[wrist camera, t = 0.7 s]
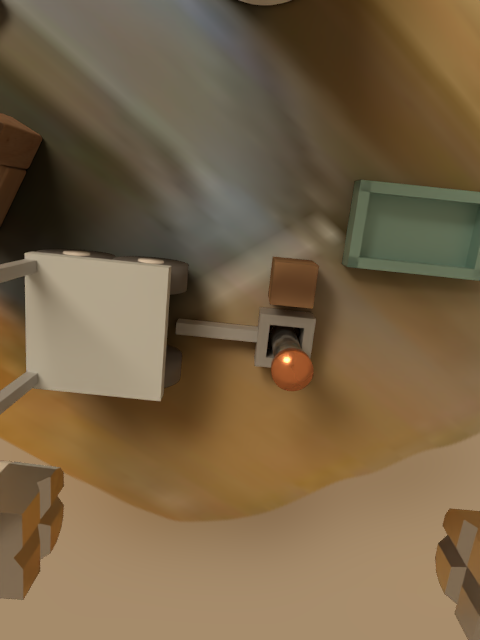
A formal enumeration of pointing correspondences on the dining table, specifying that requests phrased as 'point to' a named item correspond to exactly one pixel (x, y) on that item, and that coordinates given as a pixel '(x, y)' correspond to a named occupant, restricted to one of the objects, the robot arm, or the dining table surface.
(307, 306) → the block
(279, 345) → the pin
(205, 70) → the dining table surface
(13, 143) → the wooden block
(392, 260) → the tray
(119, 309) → the trolley
